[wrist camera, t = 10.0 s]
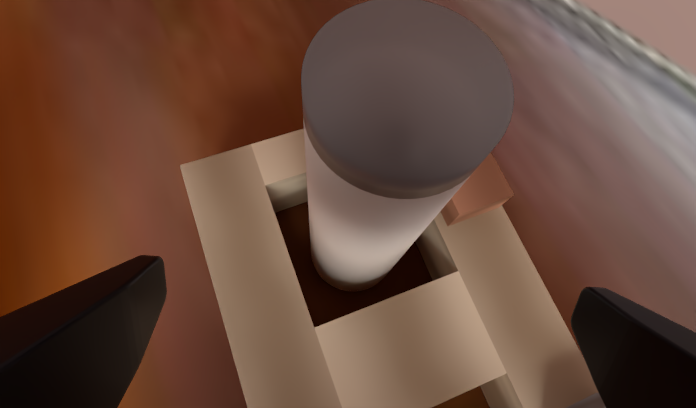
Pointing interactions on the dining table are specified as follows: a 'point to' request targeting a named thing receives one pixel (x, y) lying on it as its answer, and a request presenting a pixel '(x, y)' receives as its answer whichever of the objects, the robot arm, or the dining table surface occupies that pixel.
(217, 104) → the dining table surface
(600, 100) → the dining table surface
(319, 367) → the socket board
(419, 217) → the plug
